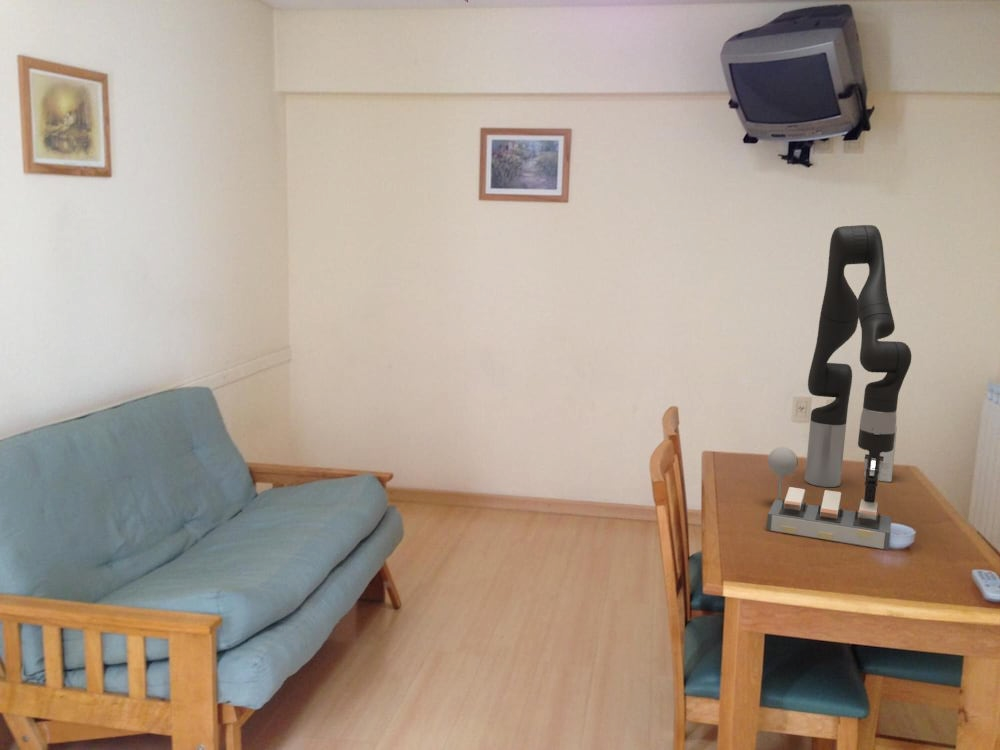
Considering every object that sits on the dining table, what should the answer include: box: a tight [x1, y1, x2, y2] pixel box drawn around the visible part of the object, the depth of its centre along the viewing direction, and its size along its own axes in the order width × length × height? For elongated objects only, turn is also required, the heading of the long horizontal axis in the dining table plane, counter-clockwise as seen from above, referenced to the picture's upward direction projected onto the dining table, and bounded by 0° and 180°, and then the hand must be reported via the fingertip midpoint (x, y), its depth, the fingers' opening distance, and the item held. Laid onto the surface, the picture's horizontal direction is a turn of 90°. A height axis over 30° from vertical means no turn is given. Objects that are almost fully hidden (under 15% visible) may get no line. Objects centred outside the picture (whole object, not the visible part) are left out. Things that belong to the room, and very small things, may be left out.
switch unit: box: [766, 498, 892, 551], centre depth 208 cm, size 12×26×6 cm, turn 66°
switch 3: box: [858, 498, 879, 520], centre depth 205 cm, size 9×4×1 cm, turn 156°
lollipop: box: [767, 446, 799, 501], centre depth 226 cm, size 7×7×15 cm
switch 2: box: [820, 489, 842, 519], centre depth 208 cm, size 9×4×1 cm, turn 155°
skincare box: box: [877, 422, 898, 483], centre depth 254 cm, size 8×7×16 cm
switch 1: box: [784, 486, 806, 510], centre depth 211 cm, size 9×4×1 cm, turn 155°
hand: (869, 501), depth 208 cm, fingers closed
